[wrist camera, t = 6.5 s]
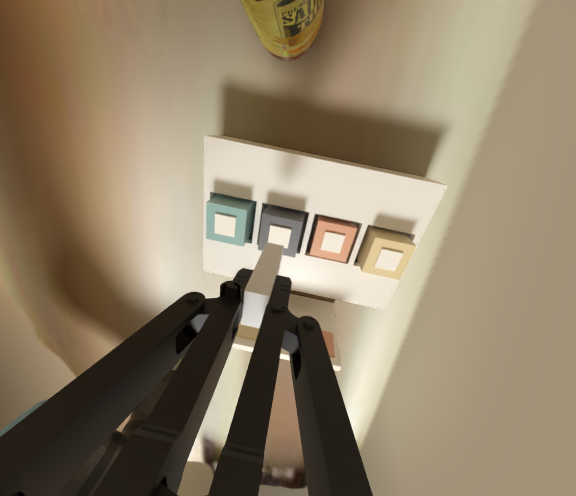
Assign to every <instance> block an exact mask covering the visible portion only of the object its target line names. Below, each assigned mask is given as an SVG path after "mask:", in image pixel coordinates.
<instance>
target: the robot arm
mask: <svg viewBox="0 0 576 496" xmlns="http://www.w3.org/2000/svg"><path fill="white" fill-rule="evenodd" d="M283 249H284V246H283V245H278V244H273V243H269V242H266V245H265V247H264V249H263V251H262V253H261V256H260V258H259V260H258V262H257V264H256V266H255V269H254V270H250V269H246V268H242V269H240V270H239V271H238V272H237V274H236V275H235V277H234V279H233V281H226V282H224V283H222V284H221V285H220V297H218V298H209V299H205V296H204V295H203V294H202V293H199V292H190V293H187V294H185V295H183V296H182V297H181V298H179V299H178V300H177V301H176V302H174V303H173V304H172V305H170V306H169V307H168V308H167V309H165V310H164V311H163V312H161V313H160V314H159V315H157V316H156V317H155V318H154V319H152V320H151V321H150V322H148V323H147V324H146V325H144V326H143V327H142V328H141V329H139V330H138V331H137V332H135V333H134V334H133V335H131V336H130V337H129V338H128V339H126V340H125V341H124V342H122V343H121V344H120V345H119V346H117V347H116V348H115V349H113V350H112V351H111V352H109V353H108V354H107V355H106V356H104V357H103V358H102V359H100V360H99V361H98V362H96V363H95V364H94V365H93V366H91V367H90V368H89V369H87V370H86V371H85V372H83V373H82V374H81V375H80V376H78V377H77V378H76V379H74V380H73V381H72V382H71V383H69V384H68V385H67V386H65V387H64V388H63V389H61V390H60V391H59V392H58V393H56V394H55V395H54V396H53V397H51V398H50V399H48V400H44V401H41V402H39V403H37V404H36V405H34V406H32V407H31V408H30V409H28V410H27V411H26V412H24V413H23V414H21V415H20V416H19V417H18V418H16V419H15V420H14V421H13V422H11V423H10V424H9V425H7V426H6V427H5V428H4V429H2V430H1V431H0V496H178V495H176V494H177V492H178V489H179V486H180V483H181V479H182V475H183V471H184V468H185V465H186V462H187V459H188V457H189V454H190V452H191V449H192V447H193V444H194V441H195V439H196V436H197V434H198V431H199V429H200V426H201V424H202V421H203V419H204V416H205V414H206V411H207V409H208V406H209V403H210V401H211V398H212V396H213V393H214V391H215V388H216V386H217V383H218V381H219V378H220V376H221V373H222V370H223V368H224V365H225V363H226V360H227V358H228V355H229V353H230V350H231V348H232V345H233V343H234V340H235V338H236V335H237V332H238V327H239V323H240V321H241V325H246V326H251V327H255V328H260V329H259V332H258V335H257V339H256V342H255V345H254V349H253V352H252V356H251V359H250V362H249V366H248V369H247V372H246V376H245V379H244V382H243V386H242V389H241V393H240V396H239V399H238V403H237V406H236V409H235V413H234V416H233V420H232V423H231V426H230V430H229V433H228V436H227V440H226V443H225V445H224V447H223V449H222V452H221V455H220V458H219V461H218V464H217V468H216V471H215V474H214V478H213V481H212V484H211V488H210V491H209V494H208V495H207V496H258V492H259V486H260V480H261V474H262V467H263V460H264V450H265V444H266V438H267V432H268V426H269V420H270V414H271V408H272V402H273V396H274V390H275V384H276V378H277V372H278V366H279V360H280V354H281V348H283V349H284V350H286V351H288V352H289V357H290V364H291V372H292V379H293V386H294V393H295V400H296V408H297V415H298V422H299V429H300V437H301V444H302V451H303V458H304V465H305V473H306V480H307V487H308V494H309V496H373V495H372V492H371V488H370V485H369V482H368V479H367V476H366V472H365V469H364V466H363V462H362V459H361V456H360V453H359V450H358V446H357V443H356V440H355V437H354V433H353V430H352V427H351V424H350V421H349V417H348V414H347V411H346V408H345V404H344V401H343V398H342V395H341V392H340V388H339V385H338V382H337V379H336V375H335V372H334V369H333V366H332V363H331V359H330V356H329V353H328V350H327V346H326V343H325V340H324V337H323V334H322V330H321V327H320V324H319V322H318V321H317V320H316V319H315V318H313V317H311V316H302V317H300V318H298V317H296V316H294V315H293V314H292V313H291V312H290V311H289V309H288V303H289V297H290V291H291V285H292V281H291V279H290V278H289V277H285V276H280V275H278V274H279V270H280V265H281V260H282V254H283ZM184 355H185V356H184ZM183 356H184V358H183V359H182V361H181V363H180V364H179V366H178V368H177V369H176V371H175V372H173V371H170V370H171V369H172V368H173V367H174V366H175V365H176V364H177V363H178V362H179V360H180V359H181V358H182V357H183ZM130 414H131V416H130V419H129V421H128V422H127V424H126V425H125V427H124V429H123V430H122V432H119V431H117V430H116V429H117V428H118V427H119V426H120V425H121V423H122V422H123V421H124V420H125V419H126V418H127V417H128V416H129V415H130Z"/></svg>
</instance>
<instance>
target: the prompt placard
mask: <svg viewBox="0 0 576 496" xmlns="http://www.w3.org/2000/svg"><path fill="white" fill-rule="evenodd" d="M288 309H289V311H290V312H291V313H292V314H293V315H294V316H296V317H298V318H300V317H302V316H311V317H313V318H315V319H316V320H317V321H318V322H319V324H320V327H321V330H322V334H323V337H324V340H325V343H326V346H327V350H328V353H329V356H330V359H331V363H332V366H333V369H334V370H336V371H340V369H341V360H340V351H339V343H338V334H337V325H336V316H335V307H334V303H331V302H327V301H322V300H318V299H313V298H308V297H304V296H299V295H294V294H290V297H289V303H288ZM259 329H260V328H255V327H251V326H246V325H241V321H240V323H239V327H238V332H237V335H236V338H235V340H234V343H233V345H232V348H236V349H240V350H245V351H249V352H253V349H254V345H255V342H256V339H257V335H258V332H259ZM280 358H281V359H286V360H290V357H289V352H288V351H286V350H284V349H283V348H281V354H280Z"/></svg>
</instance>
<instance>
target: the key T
mask: <svg viewBox="0 0 576 496" xmlns="http://www.w3.org/2000/svg"><path fill="white" fill-rule="evenodd" d="M416 247H417V246H416V245H415V244H414V243H413V242H412V241H411V239H410V238H409V237H408V236H407V235H406V234H405V233H404V232H400V231H395V230H390V229H386V228H381V227H376V226H371V225H368V226H367V229H366V232H365V234H364V237H363V240H362V242H361V245H360V248H359V250H358V253H357V256H356V257H357V260H358V263H359V266H360V269H361V272H365V273H369V274H374V275H379V276H383V277H388V278H393V279H397V280H400V278H401V276H402V274H403V272H404V270H405V268H406V266H407V264H408V262H409V260H410V258H411V256H412V254H413V253H414V251H415V249H416Z"/></svg>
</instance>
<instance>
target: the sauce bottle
mask: <svg viewBox="0 0 576 496" xmlns="http://www.w3.org/2000/svg"><path fill="white" fill-rule="evenodd" d="M241 2H242V4H243V6H244V9H245V11H246V13H247V15H248V17H249V19H250V21H251V23H252V25H253V27H254V30H255V32H256V34H257V36H258V38H259V39H260V41H261V43H262V44H263V45H264V47H265V48H267V50H268V51H269V52H270V53H271V54H272V55H273V56H275V57H276V58H279V59H281V60H293V59H297V58H299V57H300V56H302V55H303V54H304V53H305V52H306V51H307V50H308V49H309V48H310V47H311V46H312V44H313V42H314V40H315V39H316V37H317V34H318V32H319V29H320V26H321V23H322V17H323V9H324V0H241Z"/></svg>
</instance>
